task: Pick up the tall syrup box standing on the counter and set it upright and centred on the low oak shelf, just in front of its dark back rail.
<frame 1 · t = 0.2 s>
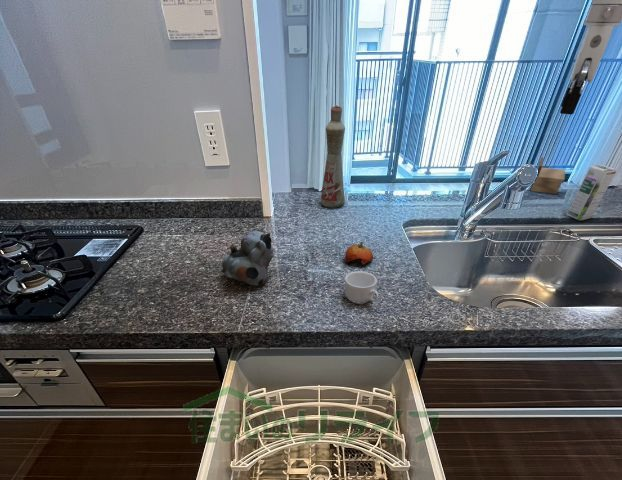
hand: (566, 110, 98), 29 cm above the countertop, tool pointing down, fingers open, 9 cm apart
shelf: (544, 187, 143), on the countertop
teacup: (361, 301, 91), on the countertop
syrup box: (578, 217, 124), on the countertop
lucky cat figurine: (249, 278, 99), on the countertop
bottle: (332, 205, 133), on the countertop
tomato: (358, 262, 105), on the countertop
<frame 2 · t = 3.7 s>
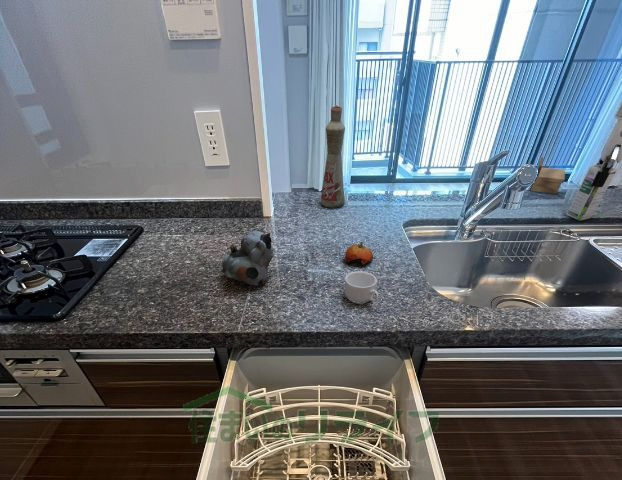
hand: (596, 181, 116), 10 cm above the countertop, tool pointing down, fingers closed on syrup box, 8 cm apart
syrup box: (578, 217, 124), on the countertop, touching gripper
everything else where it was.
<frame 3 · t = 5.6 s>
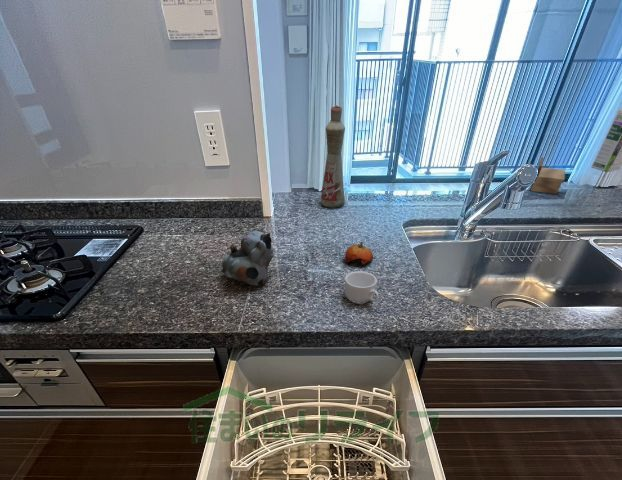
syrup box: (604, 169, 114), point 14 cm above the countertop, touching gripper
everything else where it was.
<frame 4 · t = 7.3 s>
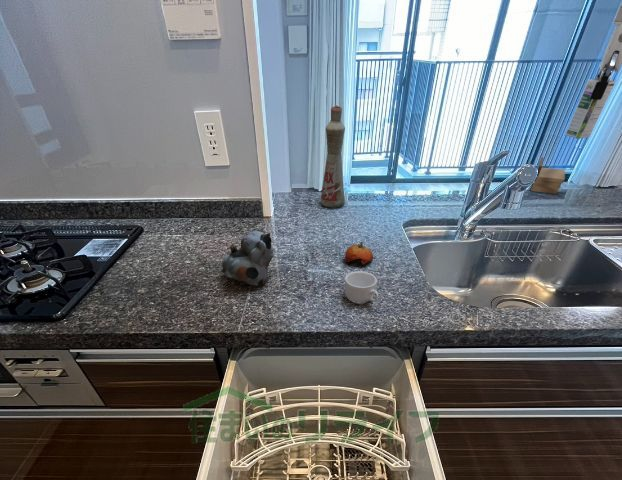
hand: (594, 96, 117), 28 cm above the countertop, tool pointing down, fingers closed on syrup box, 8 cm apart
syrup box: (576, 137, 125), point 17 cm above the countertop, touching gripper
everything else where it was.
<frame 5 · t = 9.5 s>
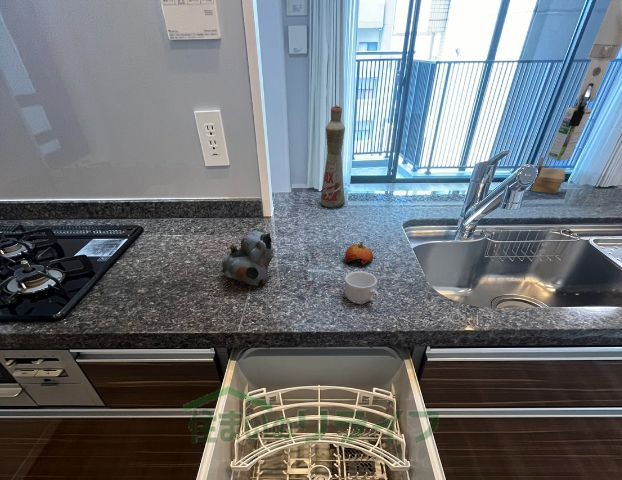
hand: (573, 122, 127), 20 cm above the countertop, tool pointing down, fingers closed on syrup box, 8 cm apart
syrup box: (558, 158, 135), point 10 cm above the countertop, touching gripper
everything else where it was.
when the fingers open (15 cm above the countertop, at t = 11.3 s): syrup box stays where it is, resting on shelf.
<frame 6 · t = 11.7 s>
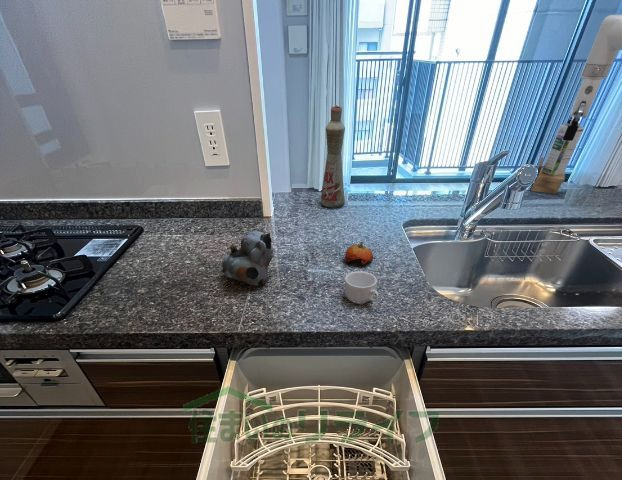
hand: (567, 137, 130), 16 cm above the countertop, tool pointing down, fingers open, 9 cm apart
syrup box: (551, 173, 139), point 5 cm above the countertop, touching shelf
everything else where it was.
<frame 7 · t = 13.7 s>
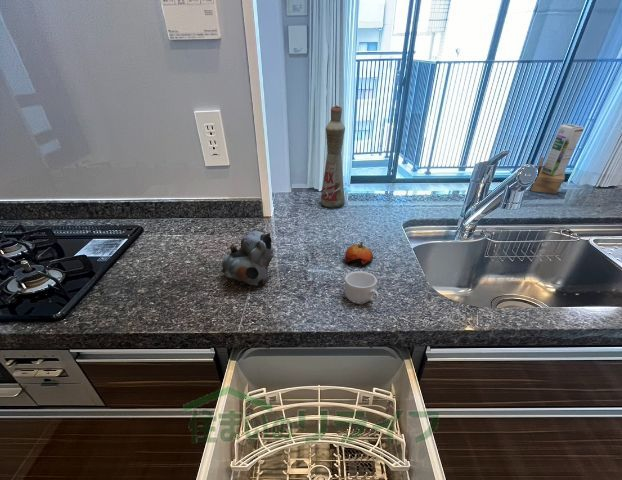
nothing on the countertop moved.
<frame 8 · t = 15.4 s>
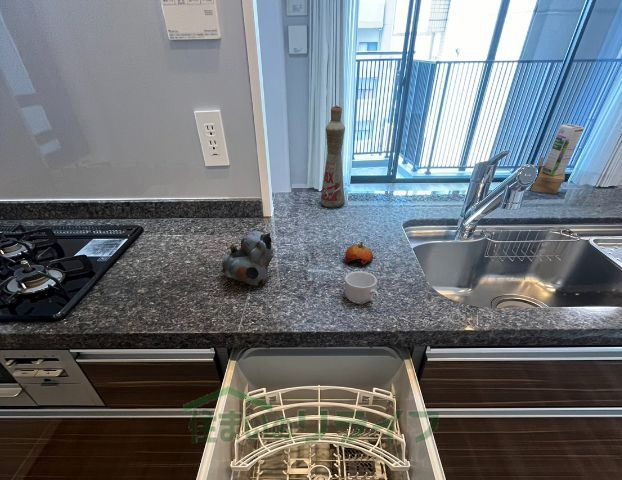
nothing on the countertop moved.
at the end: syrup box inside the target area on the shelf (0.3 cm from its centre), point 4.8 cm above the shelf's base; syrup box tilted 0°; the gripper is holding nothing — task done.
